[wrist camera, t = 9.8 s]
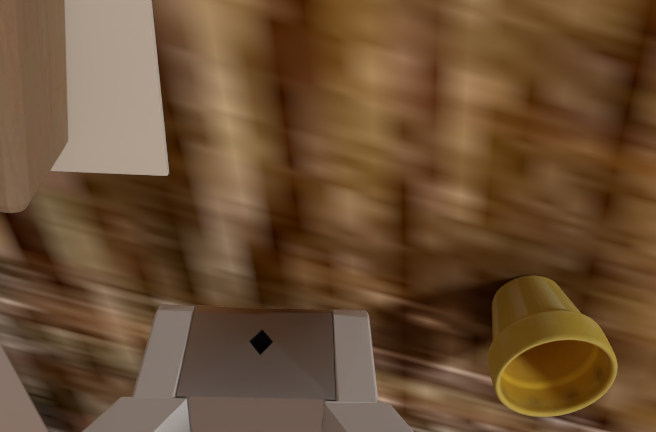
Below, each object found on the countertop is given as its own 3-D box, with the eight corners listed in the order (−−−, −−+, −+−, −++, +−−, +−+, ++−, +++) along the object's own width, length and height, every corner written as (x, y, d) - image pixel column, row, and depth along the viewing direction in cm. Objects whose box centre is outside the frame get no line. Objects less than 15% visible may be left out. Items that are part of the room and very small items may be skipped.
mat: (-123, -115, 38) (-128, -114, 38) (141, -98, 39) (139, -96, 39) (-33, 163, 50) (-36, 167, 50) (169, 171, 51) (167, 175, 51)
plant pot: (451, 294, 60) (472, 375, 52) (549, 241, 56) (588, 319, 48) (503, 350, 65) (529, 432, 57) (596, 305, 61) (638, 386, 53)
